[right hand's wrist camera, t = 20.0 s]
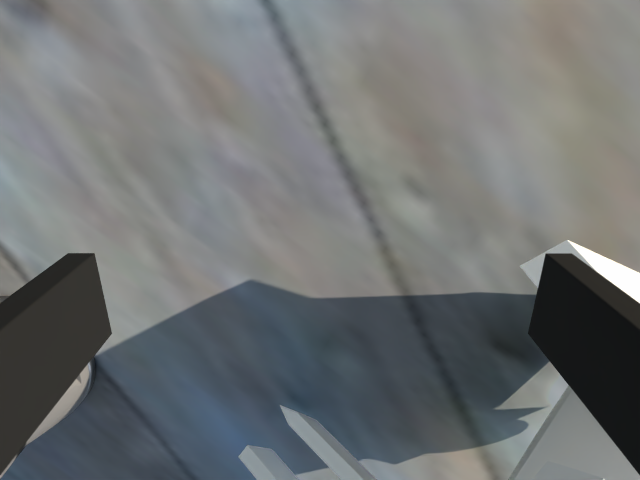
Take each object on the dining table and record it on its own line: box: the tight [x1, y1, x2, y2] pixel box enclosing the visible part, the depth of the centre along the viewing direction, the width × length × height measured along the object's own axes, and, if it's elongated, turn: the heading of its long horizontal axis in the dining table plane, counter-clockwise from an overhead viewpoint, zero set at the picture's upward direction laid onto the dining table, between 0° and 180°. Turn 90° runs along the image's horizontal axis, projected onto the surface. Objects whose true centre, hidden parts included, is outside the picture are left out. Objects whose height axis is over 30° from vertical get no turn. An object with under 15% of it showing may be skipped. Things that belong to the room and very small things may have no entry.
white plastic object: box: [238, 240, 640, 480], centre depth 34 cm, size 37×45×31 cm
